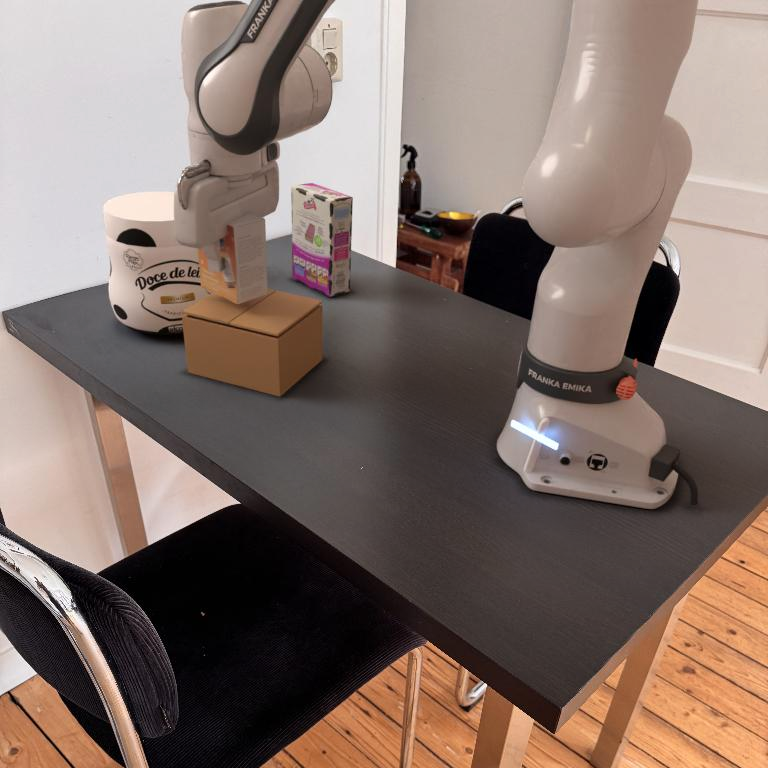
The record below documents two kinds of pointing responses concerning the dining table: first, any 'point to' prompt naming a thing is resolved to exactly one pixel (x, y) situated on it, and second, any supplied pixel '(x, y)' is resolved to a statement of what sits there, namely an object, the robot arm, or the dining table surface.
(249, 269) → the small box
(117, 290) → the doce de leite jar
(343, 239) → the candy bar box
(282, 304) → the flap
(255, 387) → the carton
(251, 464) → the dining table surface
